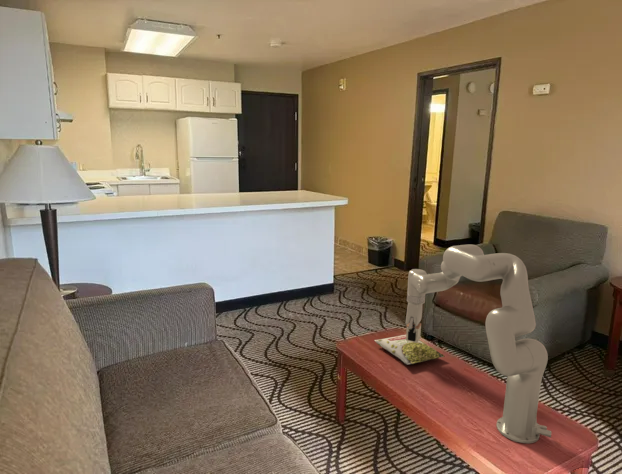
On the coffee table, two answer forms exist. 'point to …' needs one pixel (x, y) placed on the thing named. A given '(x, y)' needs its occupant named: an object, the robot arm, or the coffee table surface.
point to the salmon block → (418, 331)
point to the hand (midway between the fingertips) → (413, 337)
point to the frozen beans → (408, 349)
